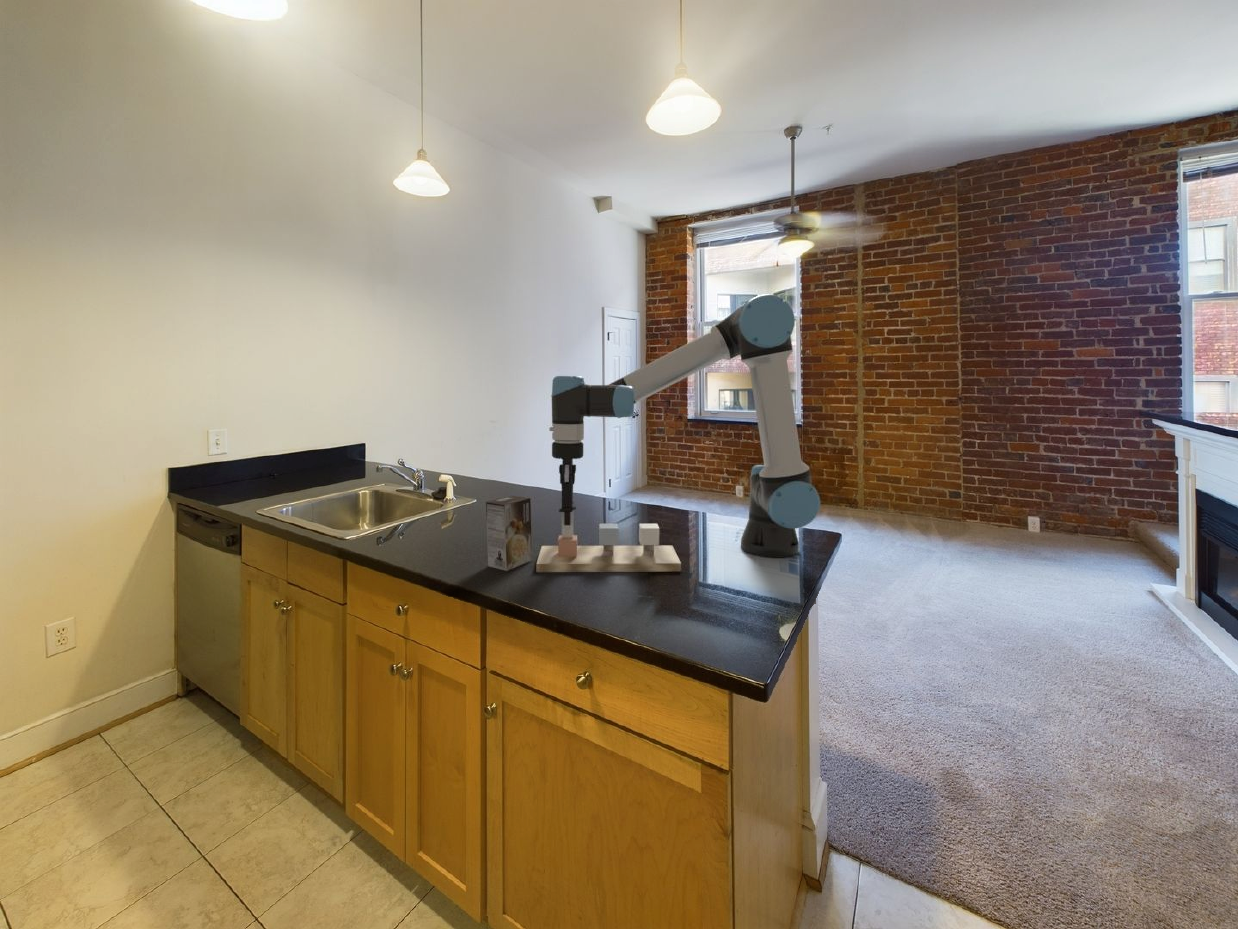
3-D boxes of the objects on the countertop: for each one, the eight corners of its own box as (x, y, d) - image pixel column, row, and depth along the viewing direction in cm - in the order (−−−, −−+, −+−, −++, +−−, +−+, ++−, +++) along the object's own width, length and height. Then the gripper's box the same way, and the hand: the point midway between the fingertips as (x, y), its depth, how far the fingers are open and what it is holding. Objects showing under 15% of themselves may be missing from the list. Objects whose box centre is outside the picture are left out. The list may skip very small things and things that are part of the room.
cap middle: (617, 539, 134) (617, 523, 133) (618, 545, 130) (618, 528, 129) (599, 539, 134) (599, 523, 133) (599, 545, 129) (599, 528, 129)
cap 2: (656, 539, 135) (657, 523, 134) (658, 545, 130) (659, 528, 130) (638, 539, 134) (639, 523, 134) (640, 545, 130) (640, 528, 129)
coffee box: (513, 556, 136) (512, 494, 133) (532, 561, 132) (531, 497, 130) (486, 566, 128) (485, 501, 126) (506, 571, 125) (505, 504, 122)
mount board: (672, 552, 140) (672, 534, 140) (680, 571, 126) (681, 551, 126) (542, 553, 138) (541, 534, 138) (536, 572, 125) (536, 551, 124)
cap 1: (577, 551, 134) (577, 535, 133) (576, 557, 130) (576, 540, 129) (559, 551, 134) (559, 535, 133) (558, 557, 129) (558, 540, 129)
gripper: (553, 438, 134) (553, 529, 137) (549, 444, 121) (550, 544, 124) (583, 438, 134) (583, 529, 138) (583, 444, 121) (582, 544, 125)
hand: (567, 536), depth 131 cm, fingers closed
